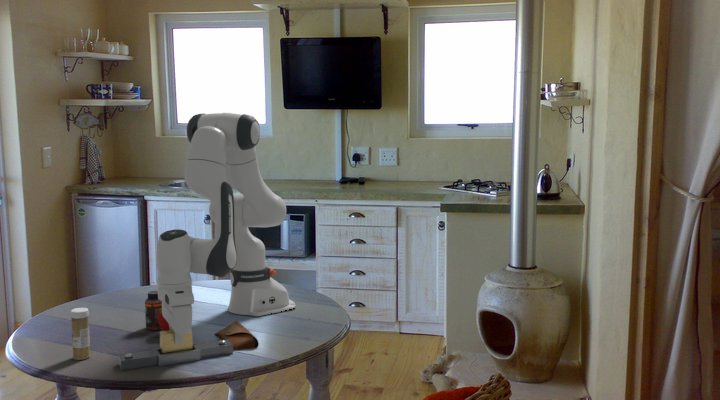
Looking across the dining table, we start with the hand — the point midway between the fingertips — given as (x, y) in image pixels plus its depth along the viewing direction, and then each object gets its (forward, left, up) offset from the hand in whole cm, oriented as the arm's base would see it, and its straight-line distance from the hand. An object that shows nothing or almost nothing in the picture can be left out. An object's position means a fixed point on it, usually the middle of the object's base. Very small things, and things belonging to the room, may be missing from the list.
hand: (176, 341), depth 193 cm
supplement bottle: (0, -30, -5) cm, 31 cm away
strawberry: (-2, -22, -5) cm, 23 cm away
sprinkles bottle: (+23, -12, -5) cm, 26 cm away
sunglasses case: (-19, -8, -6) cm, 21 cm away
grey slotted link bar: (0, 0, -5) cm, 5 cm away
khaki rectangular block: (0, 0, -2) cm, 2 cm away
